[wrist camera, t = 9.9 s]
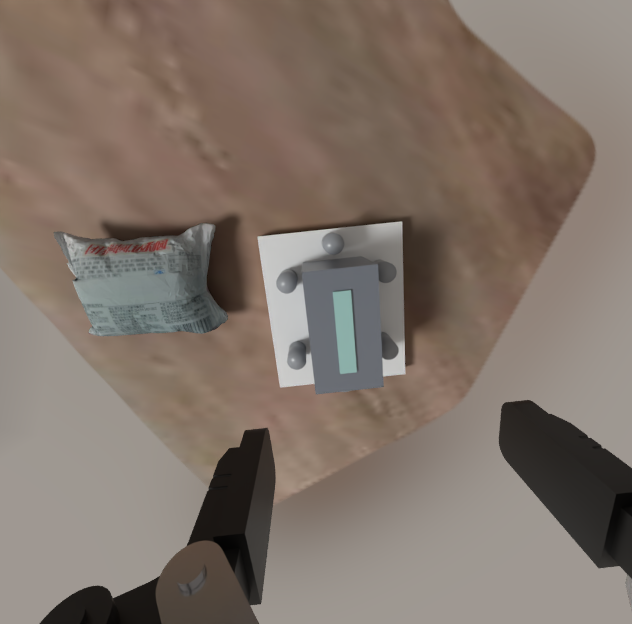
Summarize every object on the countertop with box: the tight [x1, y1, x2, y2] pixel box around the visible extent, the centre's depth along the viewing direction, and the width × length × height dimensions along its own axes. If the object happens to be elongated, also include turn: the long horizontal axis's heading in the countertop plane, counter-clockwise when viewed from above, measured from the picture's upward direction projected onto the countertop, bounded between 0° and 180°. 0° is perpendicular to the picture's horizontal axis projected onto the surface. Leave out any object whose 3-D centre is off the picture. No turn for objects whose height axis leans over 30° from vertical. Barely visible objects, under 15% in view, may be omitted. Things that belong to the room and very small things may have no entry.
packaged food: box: [54, 223, 228, 336], centre depth 24 cm, size 9×12×5 cm
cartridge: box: [302, 256, 384, 394], centre depth 23 cm, size 9×5×6 cm, turn 6°
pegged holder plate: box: [258, 221, 405, 392], centre depth 25 cm, size 14×12×4 cm
